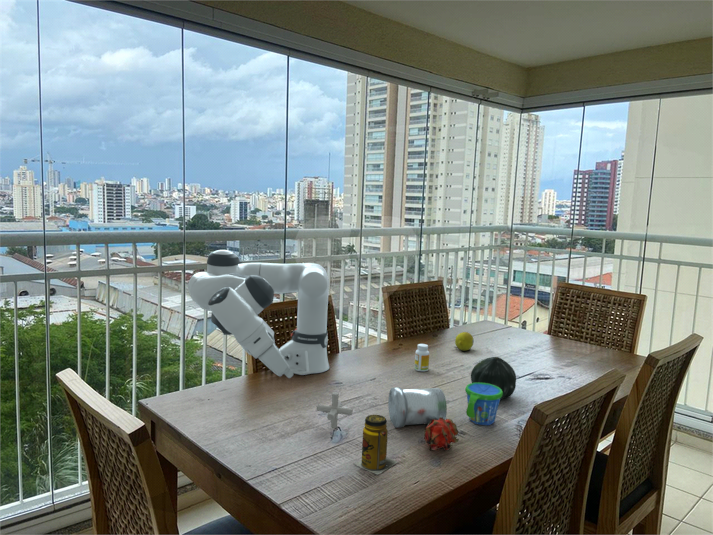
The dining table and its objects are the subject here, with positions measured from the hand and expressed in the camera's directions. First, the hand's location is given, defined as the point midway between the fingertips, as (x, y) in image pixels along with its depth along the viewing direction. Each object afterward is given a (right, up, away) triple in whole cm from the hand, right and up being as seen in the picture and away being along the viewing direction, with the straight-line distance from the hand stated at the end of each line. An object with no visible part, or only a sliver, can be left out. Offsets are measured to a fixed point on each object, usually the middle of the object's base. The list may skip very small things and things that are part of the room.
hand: (290, 375), depth 144 cm
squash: (+64, -14, +35) cm, 75 cm away
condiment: (+23, -19, -15) cm, 33 cm away
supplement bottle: (+43, -10, +59) cm, 74 cm away
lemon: (+66, -7, +89) cm, 111 cm away
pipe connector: (+12, -16, +5) cm, 20 cm away
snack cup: (+55, -17, +14) cm, 59 cm away
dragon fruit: (+40, -18, -5) cm, 44 cm away
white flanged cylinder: (+36, -16, +10) cm, 40 cm away
